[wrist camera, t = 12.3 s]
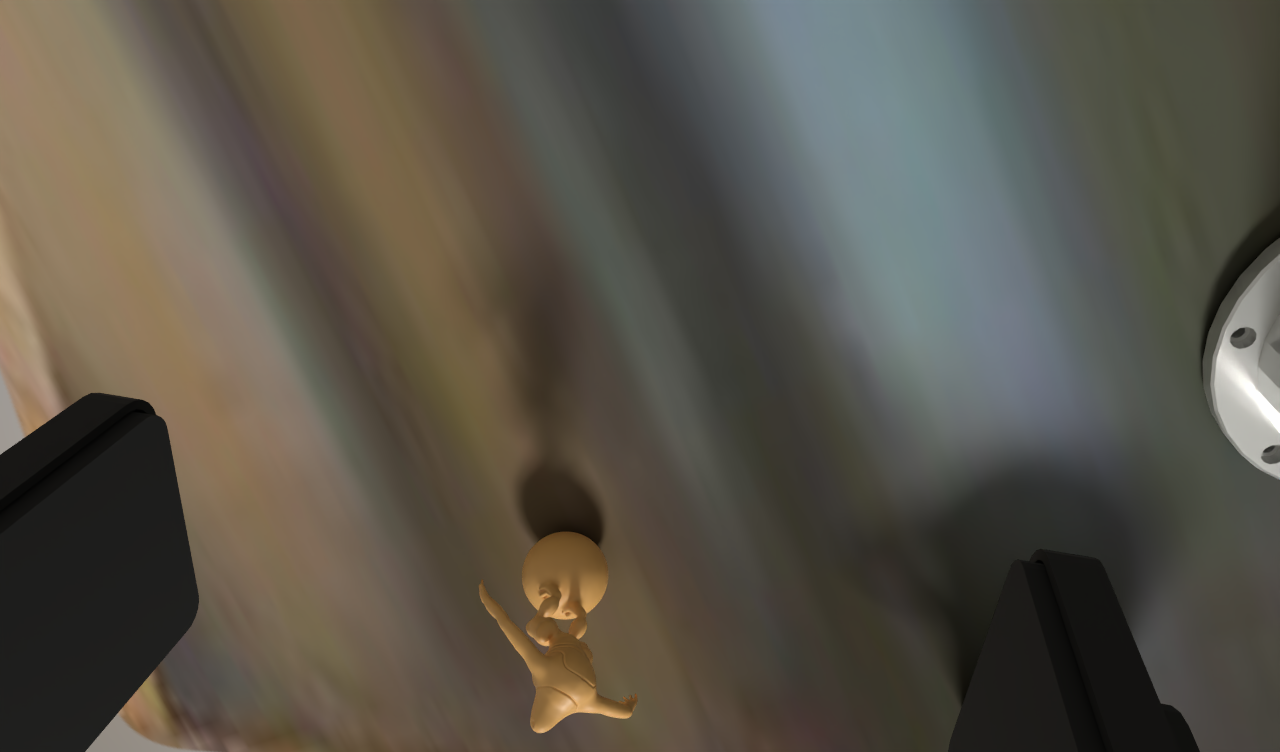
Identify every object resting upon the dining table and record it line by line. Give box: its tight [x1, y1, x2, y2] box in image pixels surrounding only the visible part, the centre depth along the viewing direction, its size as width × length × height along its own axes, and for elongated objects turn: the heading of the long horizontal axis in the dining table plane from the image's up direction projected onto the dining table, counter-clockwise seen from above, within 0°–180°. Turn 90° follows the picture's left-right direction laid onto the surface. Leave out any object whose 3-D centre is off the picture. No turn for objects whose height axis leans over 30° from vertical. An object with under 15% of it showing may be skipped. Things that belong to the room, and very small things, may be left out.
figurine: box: [479, 532, 638, 733], centre depth 39 cm, size 8×6×12 cm
